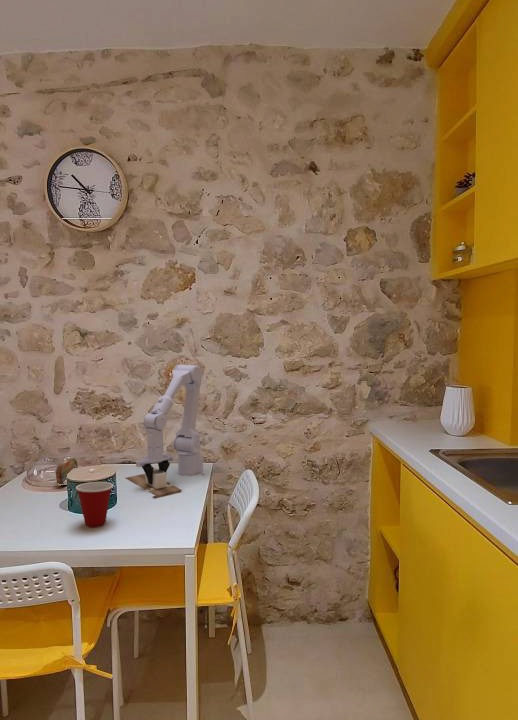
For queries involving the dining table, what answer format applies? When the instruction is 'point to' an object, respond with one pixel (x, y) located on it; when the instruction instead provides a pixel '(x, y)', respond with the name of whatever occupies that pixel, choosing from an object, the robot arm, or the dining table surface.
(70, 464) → the brown arched piece
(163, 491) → the floorboard
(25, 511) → the dining table surface
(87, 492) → the plastic cup
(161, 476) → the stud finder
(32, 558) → the dining table surface
